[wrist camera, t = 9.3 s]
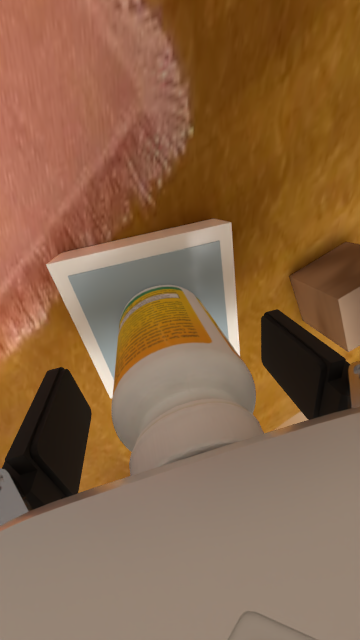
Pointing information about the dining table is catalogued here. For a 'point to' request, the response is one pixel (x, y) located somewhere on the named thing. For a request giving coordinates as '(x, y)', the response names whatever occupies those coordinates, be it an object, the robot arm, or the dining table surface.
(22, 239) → the dining table surface
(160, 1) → the dining table surface
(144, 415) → the supplement bottle
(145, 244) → the base
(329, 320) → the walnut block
